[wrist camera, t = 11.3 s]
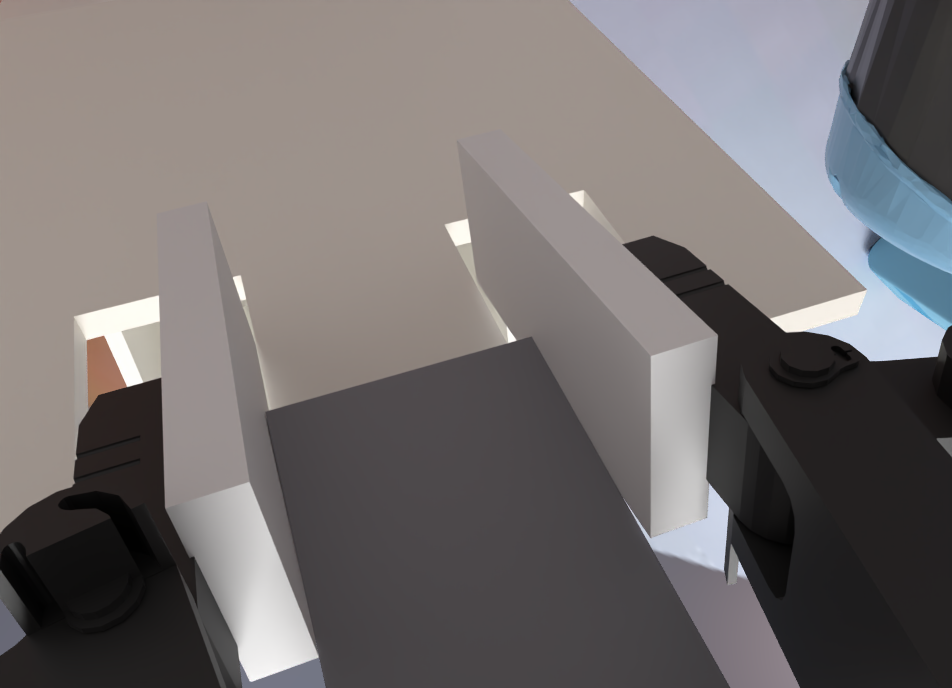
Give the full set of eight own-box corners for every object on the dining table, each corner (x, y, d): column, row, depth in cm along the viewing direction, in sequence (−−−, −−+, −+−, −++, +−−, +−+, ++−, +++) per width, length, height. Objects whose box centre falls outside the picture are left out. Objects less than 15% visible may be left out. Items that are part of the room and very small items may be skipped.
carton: (21, -29, 34) (-26, 44, 24) (399, -92, 37) (487, -49, 28) (163, 331, 44) (169, 479, 35) (448, 258, 48) (524, 376, 38)
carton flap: (-20, 87, 25) (-71, -13, 23) (499, -12, 28) (497, -108, 26) (-190, 1196, 8) (-433, 1211, 6) (1101, 648, 12) (1230, 535, 10)
